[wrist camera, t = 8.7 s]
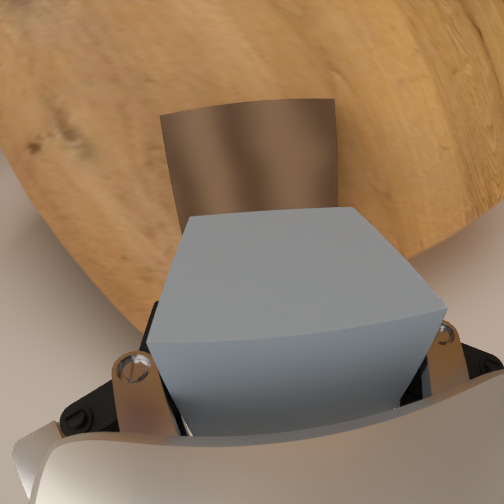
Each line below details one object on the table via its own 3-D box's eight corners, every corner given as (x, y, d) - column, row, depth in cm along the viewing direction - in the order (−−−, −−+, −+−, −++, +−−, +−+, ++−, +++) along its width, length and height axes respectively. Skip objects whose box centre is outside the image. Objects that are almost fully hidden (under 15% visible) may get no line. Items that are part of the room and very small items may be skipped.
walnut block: (317, 99, 24) (334, 98, 19) (321, 228, 30) (335, 250, 26) (173, 114, 24) (159, 115, 19) (196, 242, 31) (189, 266, 26)
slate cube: (352, 206, 10) (447, 308, 5) (336, 325, 13) (376, 432, 8) (189, 216, 10) (146, 342, 5) (211, 336, 13) (205, 455, 7)
